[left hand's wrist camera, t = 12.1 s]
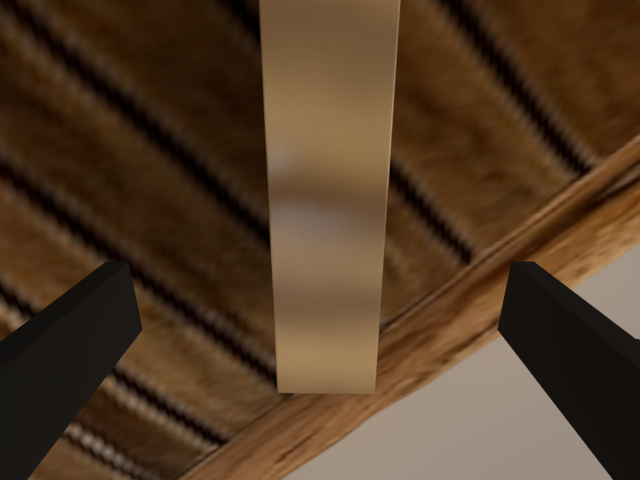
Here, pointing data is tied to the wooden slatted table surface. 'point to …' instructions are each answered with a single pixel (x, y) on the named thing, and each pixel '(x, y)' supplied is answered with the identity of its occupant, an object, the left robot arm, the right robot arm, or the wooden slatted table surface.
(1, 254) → the wooden slatted table surface
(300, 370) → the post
